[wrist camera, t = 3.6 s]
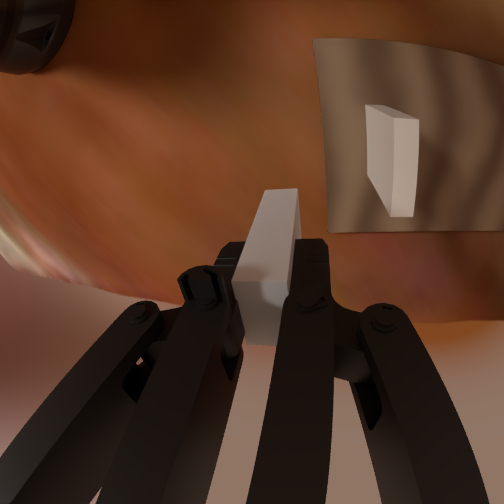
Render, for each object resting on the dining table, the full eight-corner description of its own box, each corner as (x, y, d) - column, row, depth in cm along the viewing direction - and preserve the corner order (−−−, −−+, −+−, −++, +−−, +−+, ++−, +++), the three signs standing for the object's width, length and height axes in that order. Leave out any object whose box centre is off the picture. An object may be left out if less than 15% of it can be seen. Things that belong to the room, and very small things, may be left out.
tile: (367, 174, 26) (390, 217, 18) (365, 104, 22) (393, 117, 14) (385, 174, 25) (414, 217, 18) (385, 105, 21) (421, 119, 14)
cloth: (327, 227, 31) (328, 232, 30) (312, 40, 20) (312, 38, 19) (499, 226, 26) (503, 231, 25) (514, 71, 15) (520, 72, 14)
